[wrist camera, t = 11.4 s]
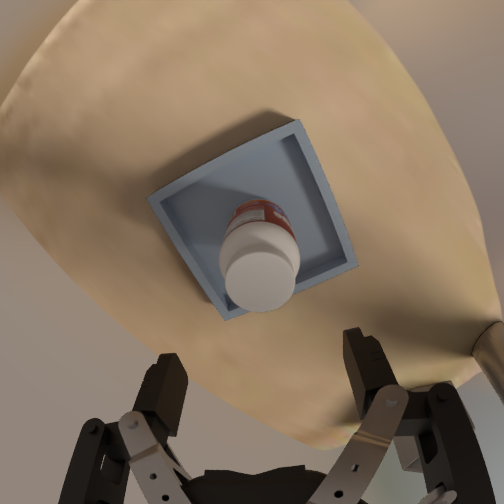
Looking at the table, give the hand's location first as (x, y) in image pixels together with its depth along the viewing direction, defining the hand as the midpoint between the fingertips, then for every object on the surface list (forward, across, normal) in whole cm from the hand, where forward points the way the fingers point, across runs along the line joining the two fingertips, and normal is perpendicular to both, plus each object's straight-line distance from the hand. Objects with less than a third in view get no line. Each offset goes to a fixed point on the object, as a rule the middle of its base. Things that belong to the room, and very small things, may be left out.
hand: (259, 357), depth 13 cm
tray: (+18, 0, 0) cm, 18 cm away
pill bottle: (+18, 0, 0) cm, 18 cm away
